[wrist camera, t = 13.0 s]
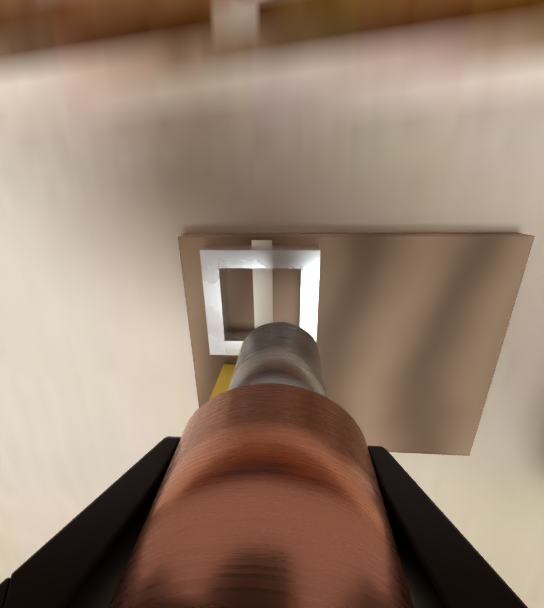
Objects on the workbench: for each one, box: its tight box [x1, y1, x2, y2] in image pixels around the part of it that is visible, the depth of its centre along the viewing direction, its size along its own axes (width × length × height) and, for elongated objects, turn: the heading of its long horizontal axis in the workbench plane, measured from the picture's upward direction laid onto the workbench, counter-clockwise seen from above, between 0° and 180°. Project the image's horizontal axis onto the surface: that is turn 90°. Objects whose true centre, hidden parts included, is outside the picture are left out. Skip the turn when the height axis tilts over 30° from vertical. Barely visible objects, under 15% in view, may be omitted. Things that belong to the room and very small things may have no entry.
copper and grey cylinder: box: [108, 322, 414, 608], centre depth 8 cm, size 4×4×8 cm
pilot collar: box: [200, 245, 320, 355], centre depth 18 cm, size 7×7×2 cm
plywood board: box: [178, 233, 534, 456], centre depth 21 cm, size 20×16×1 cm
